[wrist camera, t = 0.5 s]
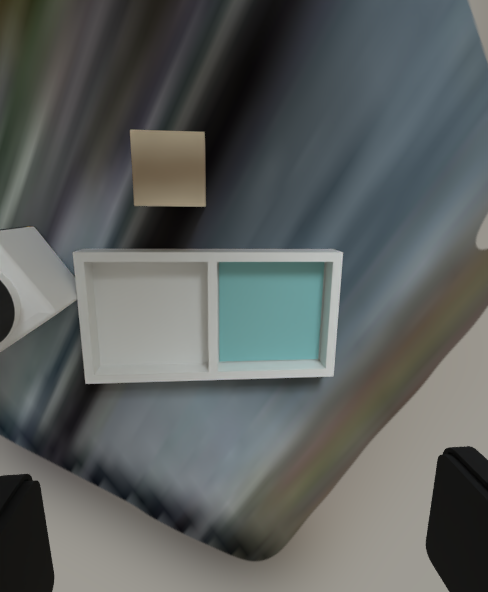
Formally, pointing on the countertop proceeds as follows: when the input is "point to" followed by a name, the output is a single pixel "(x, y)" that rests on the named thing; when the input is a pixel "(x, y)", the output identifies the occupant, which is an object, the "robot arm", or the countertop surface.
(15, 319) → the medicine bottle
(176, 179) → the wooden block
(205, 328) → the organiser tray
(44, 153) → the countertop surface
